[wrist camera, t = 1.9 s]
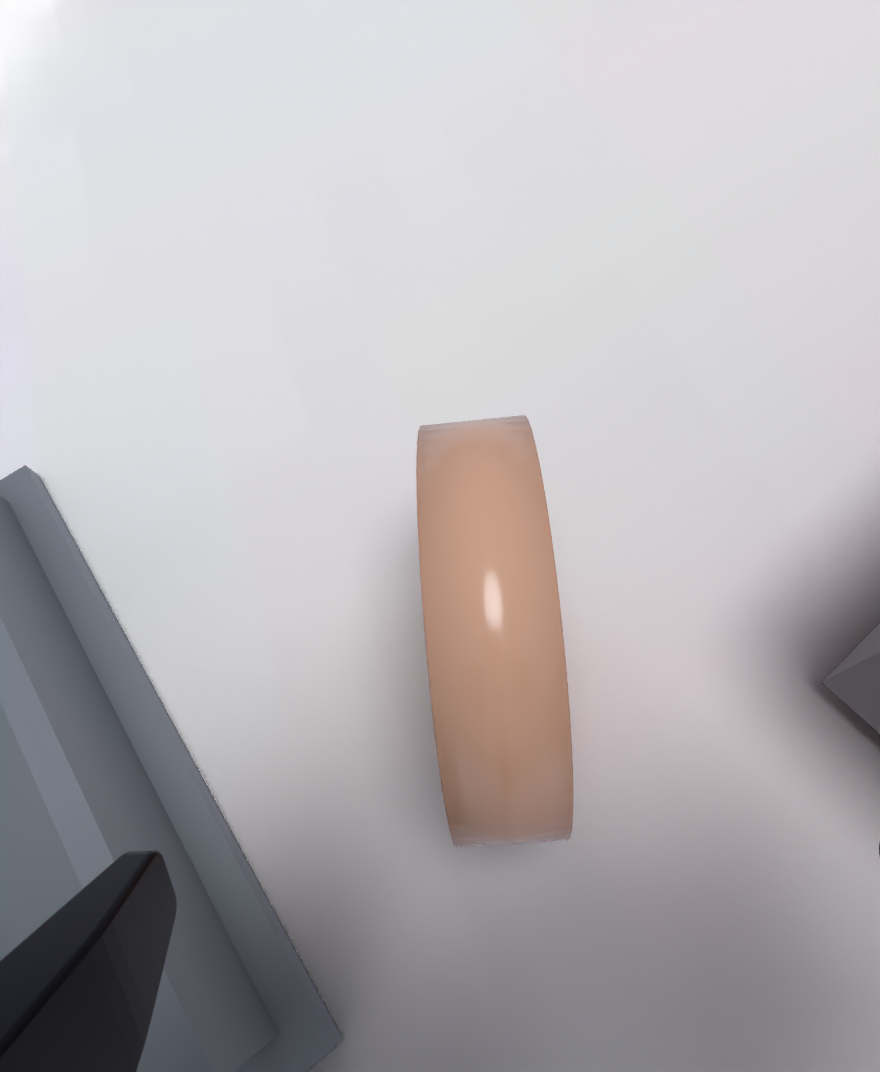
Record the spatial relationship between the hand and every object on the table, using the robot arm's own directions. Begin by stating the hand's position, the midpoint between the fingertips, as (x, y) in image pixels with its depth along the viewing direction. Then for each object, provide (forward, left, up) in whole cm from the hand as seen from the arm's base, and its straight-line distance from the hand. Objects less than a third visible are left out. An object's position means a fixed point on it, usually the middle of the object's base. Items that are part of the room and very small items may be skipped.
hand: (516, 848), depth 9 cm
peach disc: (+4, +2, -11) cm, 12 cm away
